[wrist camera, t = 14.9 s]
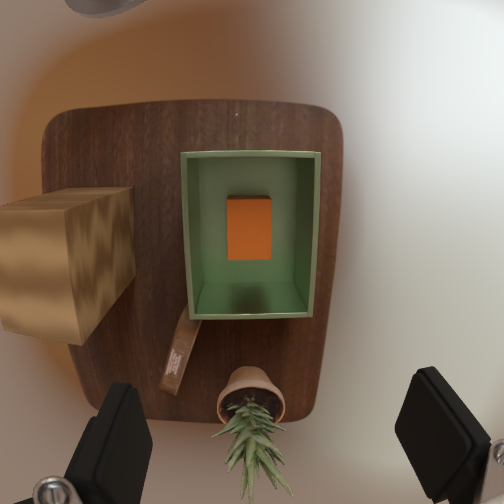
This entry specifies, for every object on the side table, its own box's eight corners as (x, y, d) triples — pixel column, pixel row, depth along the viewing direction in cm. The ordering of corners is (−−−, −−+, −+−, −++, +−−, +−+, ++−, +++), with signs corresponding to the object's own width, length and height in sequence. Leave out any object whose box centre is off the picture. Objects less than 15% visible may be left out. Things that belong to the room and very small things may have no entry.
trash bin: (199, 285, 42) (189, 319, 33) (194, 153, 38) (180, 152, 28) (297, 283, 43) (312, 317, 34) (301, 153, 38) (320, 152, 29)
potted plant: (282, 356, 46) (312, 495, 23) (276, 400, 49) (296, 529, 25) (215, 354, 46) (204, 497, 22) (215, 399, 48) (208, 530, 25)
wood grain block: (68, 188, 38) (-18, 211, 20) (133, 186, 38) (64, 210, 21) (74, 270, 41) (3, 330, 24) (136, 275, 42) (82, 346, 24)
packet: (227, 195, 39) (226, 199, 35) (268, 195, 39) (272, 199, 35) (228, 250, 41) (227, 260, 37) (267, 250, 41) (271, 259, 37)
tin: (184, 372, 47) (176, 409, 38) (164, 366, 46) (154, 402, 38) (212, 290, 43) (207, 320, 35) (190, 283, 42) (180, 312, 34)
